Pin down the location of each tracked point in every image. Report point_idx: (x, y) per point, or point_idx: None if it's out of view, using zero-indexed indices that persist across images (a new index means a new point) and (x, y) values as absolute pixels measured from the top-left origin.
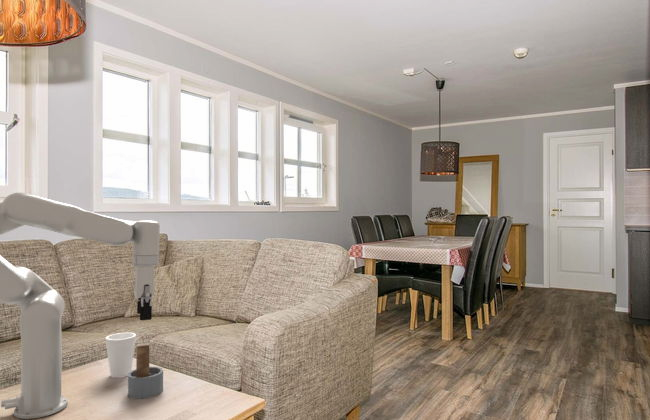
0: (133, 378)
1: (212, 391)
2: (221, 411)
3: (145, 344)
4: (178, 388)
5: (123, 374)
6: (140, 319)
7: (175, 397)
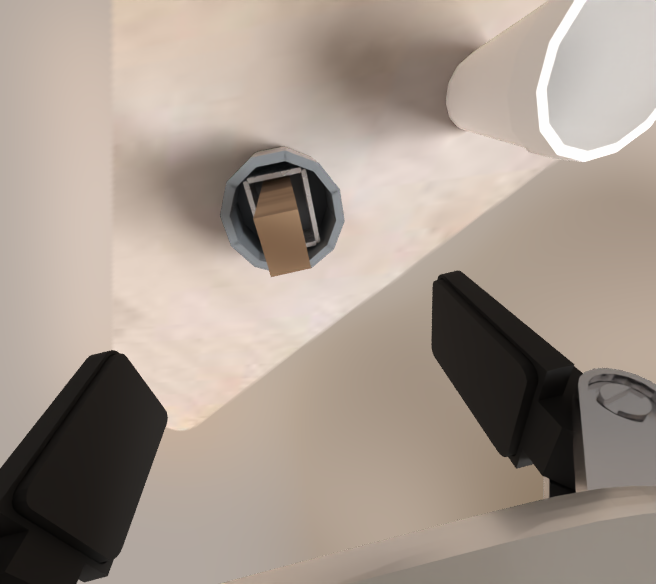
0: (228, 180)
1: (247, 358)
2: None
3: (284, 256)
4: (286, 287)
5: (450, 106)
6: (94, 359)
7: (225, 285)
